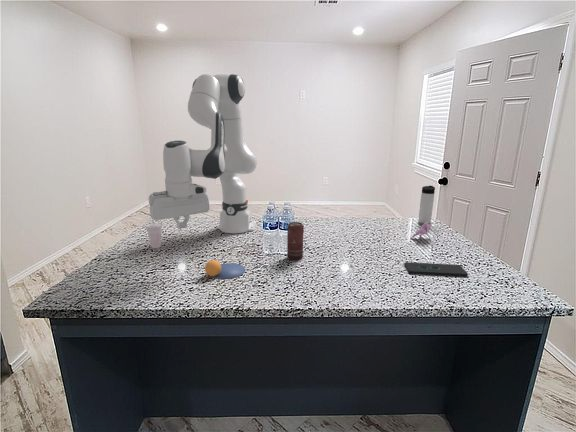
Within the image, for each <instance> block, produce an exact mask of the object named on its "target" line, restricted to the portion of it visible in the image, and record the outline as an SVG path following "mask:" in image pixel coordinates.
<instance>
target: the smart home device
mask: <svg viewBox="0 0 576 432" xmlns="http://www.w3.org/2000/svg"><path fill="white" fill-rule="evenodd" d="M404 267H405V269H406V271H407V273H408V274H410V275H423V276H424V275H426V276H440V277H461V278H462V277H463V278H467V277H468V275H469V273H468V272H467V271H466V270H465V269H464V267H462V266H461V264H448V263H429V262H428V263H427V262H413V261H412V262H411V261H409V262H407V261H406V262H404Z"/></svg>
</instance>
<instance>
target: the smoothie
mask: <svg viewBox="0 0 576 432" xmlns="http://www.w3.org/2000/svg"><path fill="white" fill-rule="evenodd" d="M151 220H152V222H151V223H148V224H146V225H145V229H146V232H147V236H148V239H149V244H150V247H151V249H159V248H160V247H161V246H162V245H161V244H162V228H163V224H162V223H159V222H155V220H154V219H152V218H151Z"/></svg>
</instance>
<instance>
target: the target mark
mask: <svg viewBox="0 0 576 432" xmlns="http://www.w3.org/2000/svg"><path fill="white" fill-rule="evenodd" d="M220 265H221V271H220V273H219V274H218V275H216V276H210V277H212V278H214V279H218V280H230V279H236V278H239V277H241V276H243V275H244V274H245V273H246V267H245V266H244V265H242V264H238V263H234V262H229V263H228V262H227V263H220Z"/></svg>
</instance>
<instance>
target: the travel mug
mask: <svg viewBox="0 0 576 432" xmlns="http://www.w3.org/2000/svg"><path fill="white" fill-rule="evenodd" d="M435 190H436V187H435V186H433V185H425V186H424V185H423V186H422V187H421V195H420V203H419V211H418V212H419V213H418V220H417V223H418V224H419V225H421V226H422V225H423V224H424V223H425V222H428V225H429V224H431V223H432V215H433V209H434V200H435Z"/></svg>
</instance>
